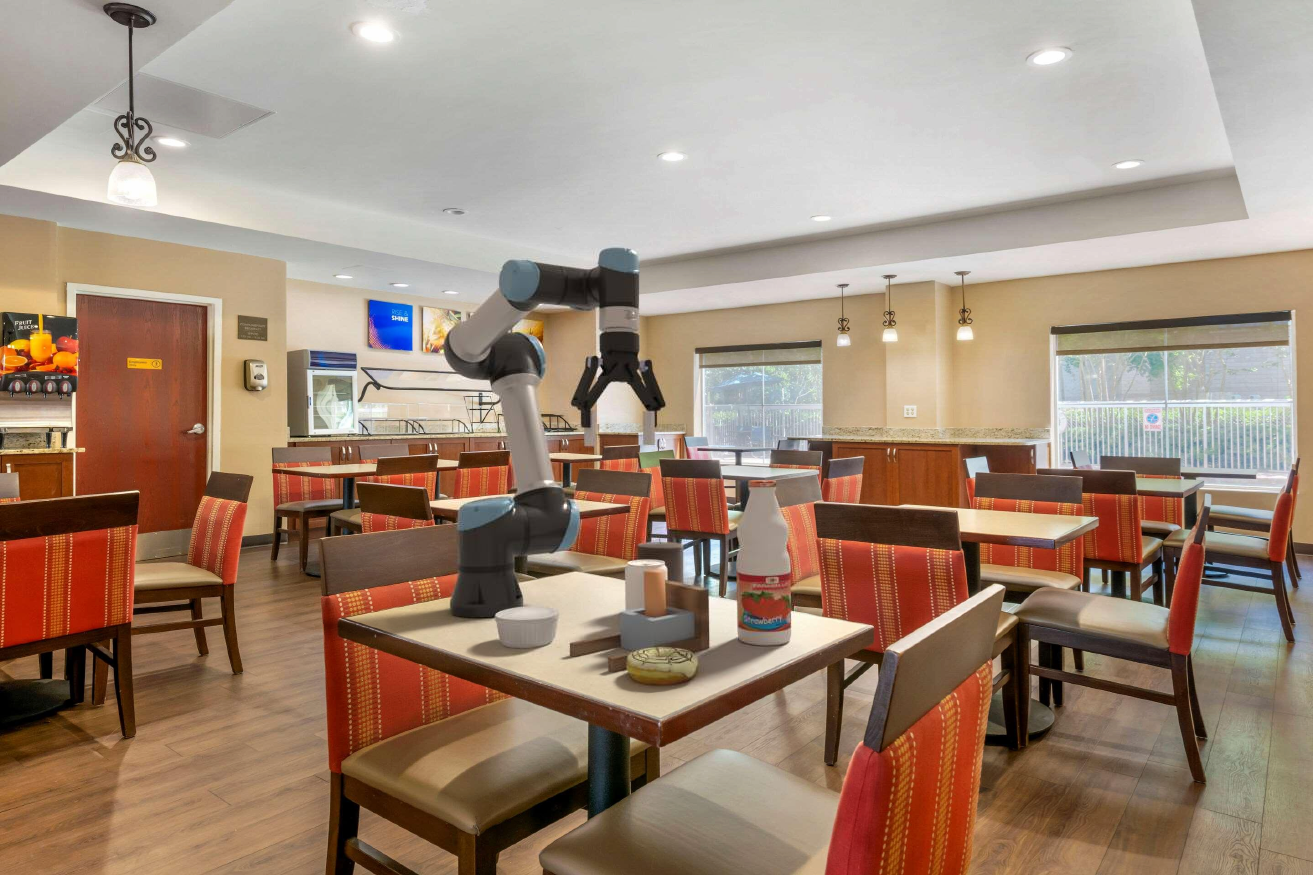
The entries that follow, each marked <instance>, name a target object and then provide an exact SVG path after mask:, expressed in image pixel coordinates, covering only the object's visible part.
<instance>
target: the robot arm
mask: <svg viewBox="0 0 1313 875" xmlns="http://www.w3.org/2000/svg"><path fill="white" fill-rule="evenodd" d="M498 276H499V277H498V286H499V287H498V288H497V289H496V290H495V291H494V292H493V293H492V294H491V295H490V296H489V297H488V298H487V299H486V300H485V301H484V302H483V303H482V304H481V305H480V306H479V307H478V308H477V309H476V310H475V311H474V312H473V313H472V314H471V315H470V316H469V317H468V318H467V319H466V320H463V321H460V322H459V321H458V322H457V323H455V325H453V326H452V328H450V329H449V331H448V332H447V334H446V335H445V338H444V341H443V355H444V358H445V360H446V362H447V364H448V365H449V367H450V368H451V369H452V370H453V371H454V372H456V373H457V374H458V375H460V376H461V377H464V378H466V379H470V380H476V381H477V380H478V381H489V382H490V383H489V384H490V388H491V389H490V390H491V392H492V393H493V394H495V395H496V396H499V402H500V406H501V412H502V417H503V422H504V427H505V432H506V438H507V443H508V448H509V454H510V459H511V464H512V468H513V474H514V480H515V485H516V492H515V494H514V495H513V496H512V497H511V496H495V497H487V498H480V499H476V500H472V501H468V502H466V503H464V504H463V505H461V506H460V507H459V509H458V511H457V525H456V532H457V535H456V536H457V578H456V581H455V585H454V587H453V591H452V594H451V596H450V601H449V612H451V613H452V614H451V613H450V614H451V615H453V614H454V615H453V616H456V615H457V617H461V616H465V617H464V618H493V617H494V618H495V614H496V613H498V612H500V611H503V610H506V609H511V608H517V607H524V596H523V592H522V590H521V588H520V583H519V581H518V578H517V575H516V571H515V557H525V556H535V555H544V554H550V555H551V554H554V553H558V552H564V551H568V550H569V549H570V548H572V547H573V546H574V544H575V542H576V540H577V538H578V535H579V531H580V527H581V526H580V525H581V516H580V509H579V507H578V505H577V503H576V502H575V500H573V499H571V498H566V496H565V492H564V487H562V486H560V485H559V484H557V483H556V481H555V475H554V471H553V470H554V469H553V466H552V461H551V457H550V451H549V448H548V442H547V438H546V432H545V428H544V423H543V418H542V414H541V409H540V404H539V399H538V394H537V389H538V388H539V386H540V384H541V380H542V379H543V377H544V376H545V373H546V369H547V367H546V363H547V357H546V352H545V349H544V346H543V345H542V344H543V343H541V341H540V340H539V339H538V338H537V337H536V336H534V335H532V334H530V333H523V332H521V331H515V332H511V331H510V330H512V329H513V328H514V327H515V326H516V325H518V323H519V322H521V321H522V320H523V319H524V318H525V317H526V316H528V314H530V313H531V312H532V311H534V310H535V309H536V308H537V307H538V306H539V305H552V306H561V307H563V306H564V307H569V308H570V309H571V310H574V311H575V312H576V311H577V312H583V311H586V312H589V311H592V310H595V309H597V308H598V312H599V313H598V319H599V320H598V330H599V331H601V332H602V333H600V334H599V339H598V340H599V341H598V342H599V344H598V345H599V353H600V357H598V355H590V356H586V357H585V365H584V370H583V371H582V372H583V373H582V374H581V377H580V380H579V381H578V385H577V387H576V388H575V392H574V394H573V396H572V398H571V401H570V404H571V407H575V408H577V410H578V411H580V426H581V429H583V432H584V434H583V435H584V436H583V437H584V438H583V439H584V447H597V419H596V418H597V410H596V409H593V407H594V406H595V405H596V403H597V402H598V400H599V399H600V397H601V396H602V394H603V393H604V392H605V390H606V389H607V387H608V386H609V385H610V383H617V382H618V383H622V384H623V383H626V384H628V385H629V386H630V387H631V389H632V391H633V392H634V394H635V395H636V396H637V398H638V399H639V401H640V402H641V404H642V405H643V407H644V408H645V410H646V411H644V410H643V411H642V445H643V446H655V445H656V440H655V438H656V437H655V436H656V432H655V429H656V428H657V426H658V412H660V411H661V409H663V408H665V407H666V405H667V403H666V401H665V399H664V396H663V394H662V390H661V388H660V386H659V383H658V381H657V378H656V376H655V373H654V370H653V369H654V367H653V361H652V360H651V359H642V360H639V357H638V356H639V352H640V349H641V348H640V334H639V333H638V331H639V330H640V307H639V306H640V267H639V255H638V253H637V252H636V251H635V250H633V249H631V248H626V247H608V248H604V249H601V251H599V253H598V261H597V266H595V267H593V268H580V267H571V266H566V265H565V266H564V265H559V264H550V263H543V262H538V261H537V262H535V261H531V260H528V259H509V260H507V261H505V262H504V264H503V265H502V266H501V271H500V273H499V275H498ZM599 368H600V369H601V370H602V371H601V373H600V374H599V375H598V377H597V380H596V382H594V380H595V377H596V375H597V372H598V370H599ZM638 371H639V372H640V374H639V372H638ZM593 382H594V384H593ZM592 384H593V385H592ZM592 409H593V410H592Z"/></svg>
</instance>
